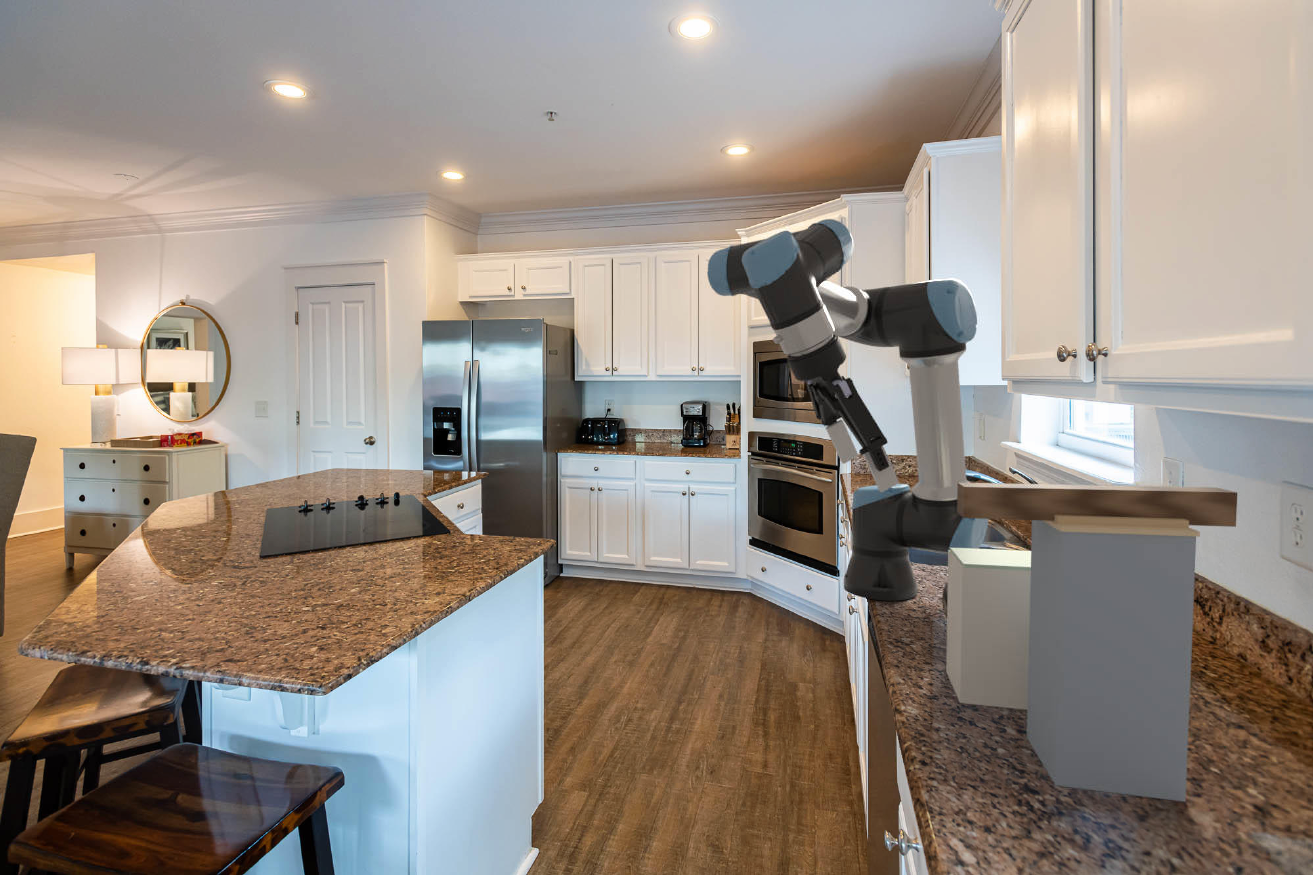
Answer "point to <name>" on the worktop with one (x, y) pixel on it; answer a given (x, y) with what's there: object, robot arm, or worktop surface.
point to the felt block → (989, 626)
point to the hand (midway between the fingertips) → (868, 472)
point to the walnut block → (1097, 502)
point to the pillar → (1112, 652)
